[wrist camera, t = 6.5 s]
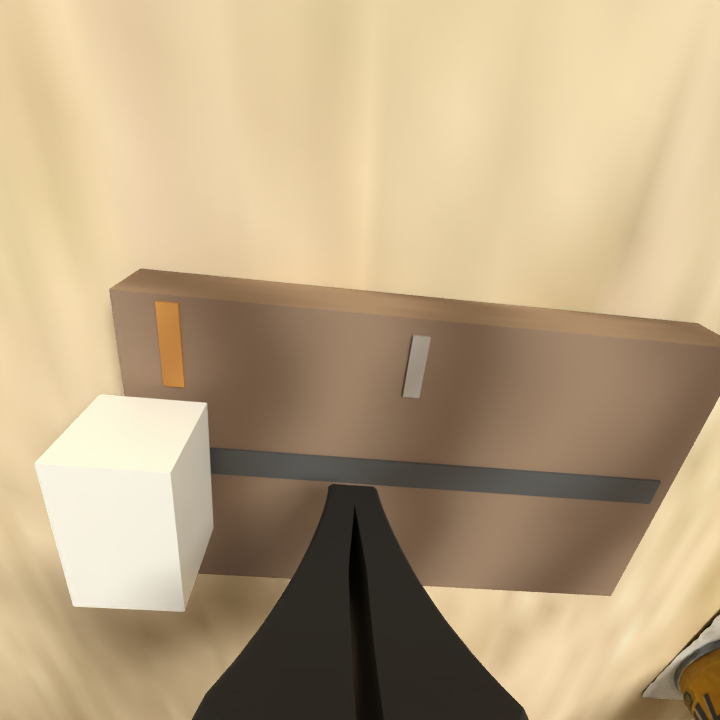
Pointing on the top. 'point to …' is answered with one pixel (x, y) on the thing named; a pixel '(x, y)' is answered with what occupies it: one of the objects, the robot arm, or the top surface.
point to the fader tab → (131, 501)
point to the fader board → (424, 422)
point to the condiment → (694, 676)
